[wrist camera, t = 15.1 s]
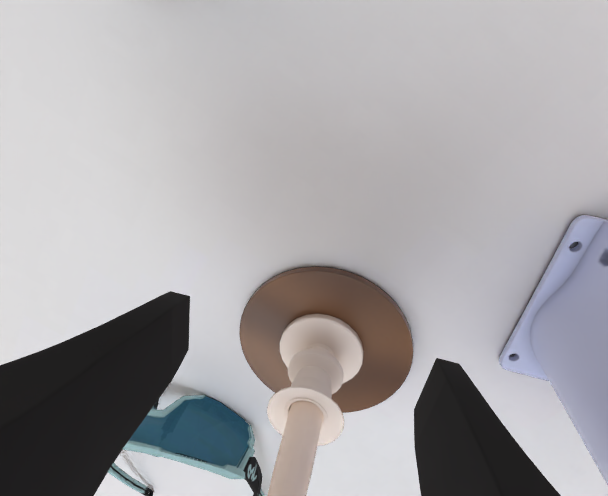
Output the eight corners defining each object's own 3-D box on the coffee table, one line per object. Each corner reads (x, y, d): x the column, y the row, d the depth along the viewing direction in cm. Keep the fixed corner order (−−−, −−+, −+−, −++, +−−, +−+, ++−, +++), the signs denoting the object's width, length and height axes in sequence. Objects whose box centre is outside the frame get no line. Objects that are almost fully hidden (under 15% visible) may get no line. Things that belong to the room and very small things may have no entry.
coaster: (251, 247, 21) (247, 251, 21) (437, 292, 20) (438, 299, 19) (236, 380, 26) (232, 387, 26) (385, 424, 25) (385, 432, 24)
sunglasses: (260, 395, 26) (235, 466, 22) (278, 495, 34) (263, 561, 30) (91, 371, 29) (41, 430, 25) (144, 468, 37) (113, 526, 32)
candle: (347, 305, 21) (319, 477, 12) (374, 374, 22) (368, 575, 13) (268, 322, 23) (187, 485, 13) (298, 385, 24) (245, 571, 15)
